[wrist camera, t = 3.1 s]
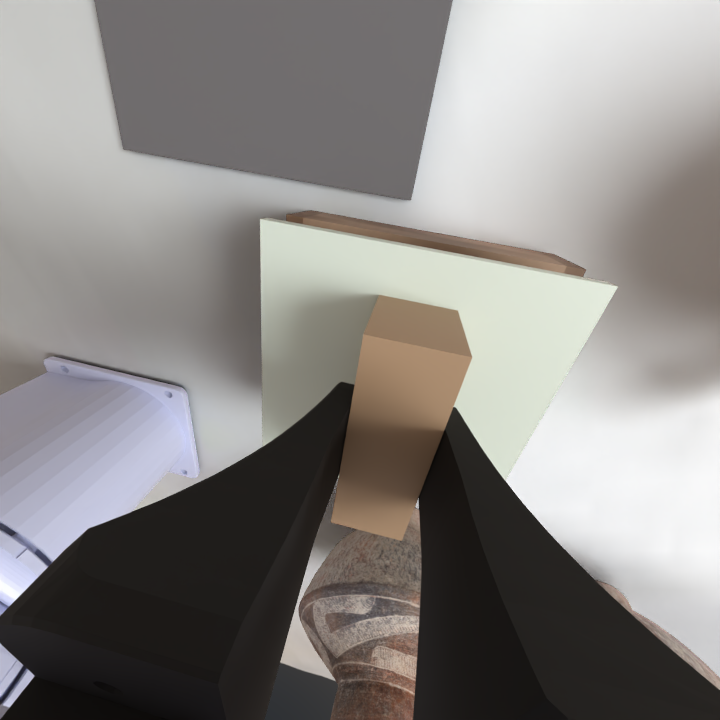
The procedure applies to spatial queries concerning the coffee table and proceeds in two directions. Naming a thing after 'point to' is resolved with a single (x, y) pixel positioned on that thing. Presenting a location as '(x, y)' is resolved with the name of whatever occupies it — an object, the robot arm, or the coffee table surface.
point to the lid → (411, 354)
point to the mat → (279, 85)
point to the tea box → (437, 241)
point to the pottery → (389, 623)
